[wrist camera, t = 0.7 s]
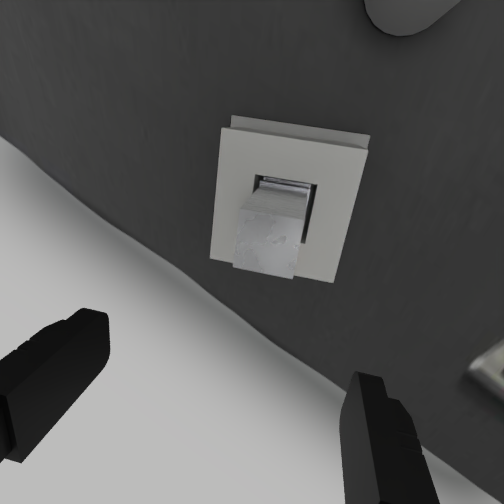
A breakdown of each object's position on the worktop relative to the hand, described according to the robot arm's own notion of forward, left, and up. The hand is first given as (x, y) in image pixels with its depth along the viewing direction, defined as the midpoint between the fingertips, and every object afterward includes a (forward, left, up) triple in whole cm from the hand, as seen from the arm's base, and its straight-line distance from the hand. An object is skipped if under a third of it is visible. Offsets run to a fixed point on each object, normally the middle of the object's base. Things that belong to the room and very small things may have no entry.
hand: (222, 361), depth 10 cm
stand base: (0, 0, -28) cm, 28 cm away
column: (0, 0, -27) cm, 27 cm away
